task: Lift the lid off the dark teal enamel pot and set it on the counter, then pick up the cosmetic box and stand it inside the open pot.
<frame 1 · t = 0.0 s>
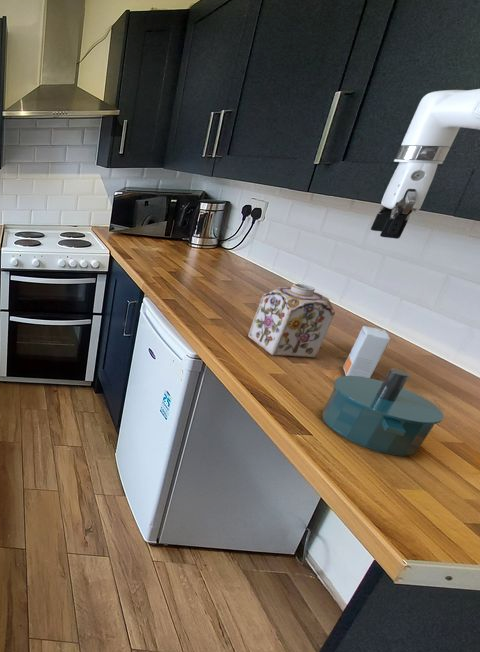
hand: (383, 234, 94), 33 cm above the worktop, tool pointing down, fingers open, 9 cm apart
decorative jar: (279, 347, 112), on the worktop
pot: (367, 430, 79), on the worktop
cosmetic box: (354, 376, 99), on the worktop
lid: (384, 399, 76), point 7 cm above the worktop, touching pot
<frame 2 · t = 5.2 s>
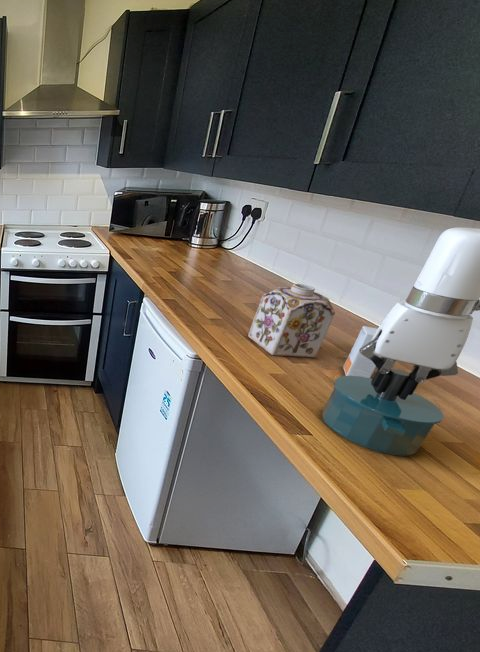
hand: (388, 392, 75), 9 cm above the worktop, tool pointing down, fingers closed on lid, 2 cm apart
lid: (384, 399, 76), point 8 cm above the worktop, touching gripper, pot
everything else where it was.
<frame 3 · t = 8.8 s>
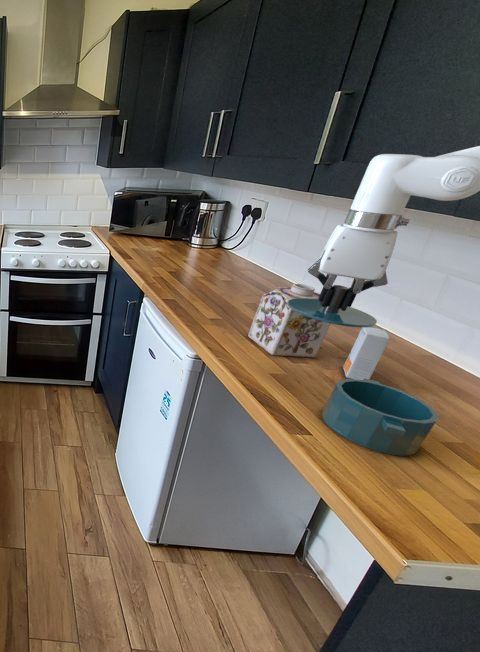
hand: (332, 306, 87), 20 cm above the worktop, tool pointing down, fingers closed on lid, 2 cm apart
lid: (329, 312, 87), point 18 cm above the worktop, touching gripper
everything else where it was.
when the fingers open (2 cm above the worktop, at t = 12.7 s): lid stays where it is, point 1 cm above the worktop.
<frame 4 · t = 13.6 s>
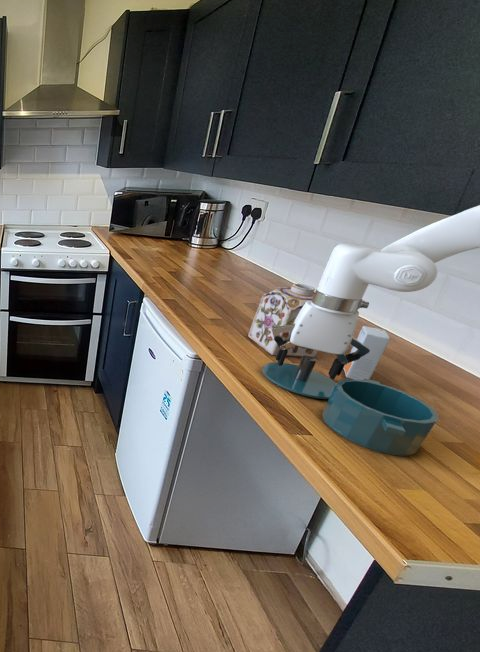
hand: (304, 369, 93), 4 cm above the worktop, tool pointing down, fingers open, 9 cm apart
lid: (299, 380, 95), point 1 cm above the worktop
everything else where it was.
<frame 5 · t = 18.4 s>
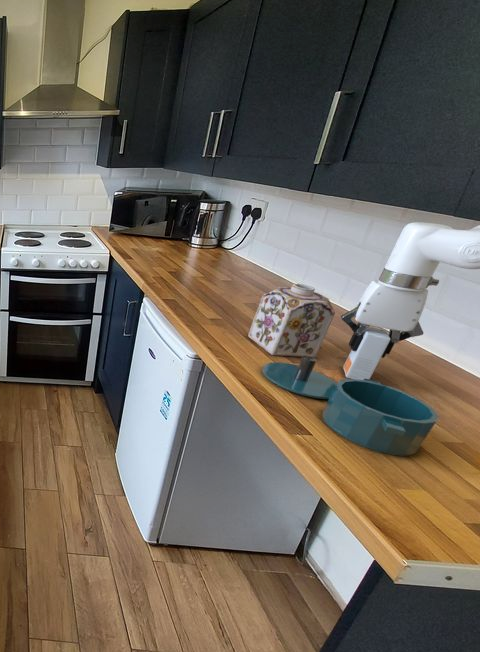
hand: (366, 351, 96), 7 cm above the worktop, tool pointing down, fingers closed on cosmetic box, 4 cm apart
cosmetic box: (354, 376, 99), on the worktop, touching gripper
everything else where it was.
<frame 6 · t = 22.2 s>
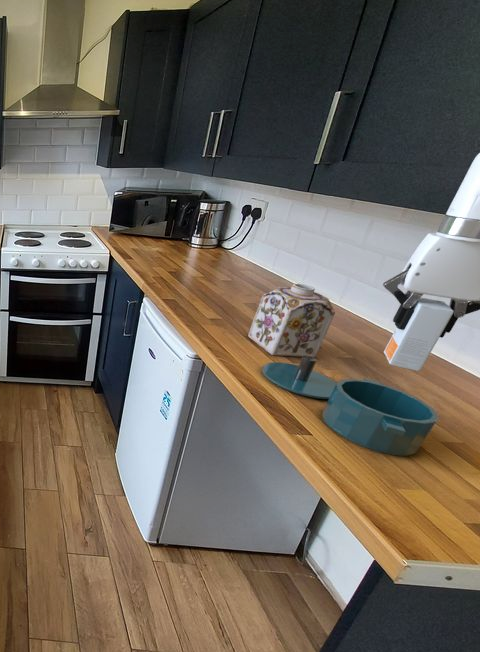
hand: (418, 329, 72), 21 cm above the worktop, tool pointing down, fingers closed on cosmetic box, 4 cm apart
cosmetic box: (399, 362, 75), point 14 cm above the worktop, touching gripper
everything else where it was.
when the fingers open (7 cm above the worktop, at t = 26.0 s): cosmetic box stays where it is, resting on pot.
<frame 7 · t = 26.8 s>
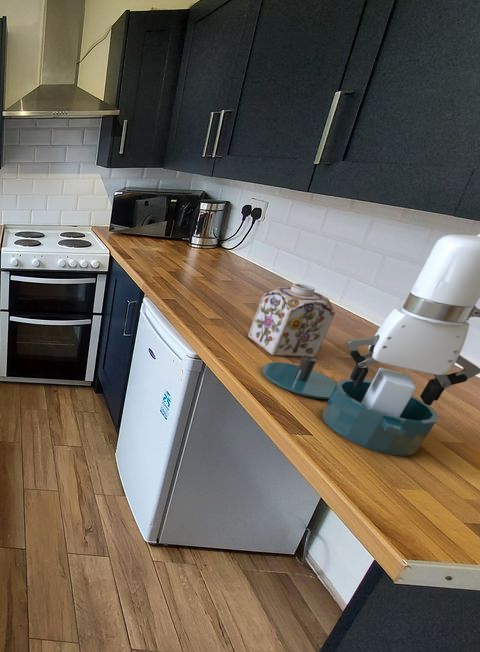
hand: (389, 392, 75), 9 cm above the worktop, tool pointing down, fingers open, 9 cm apart
cosmetic box: (368, 429, 79), resting on pot
everything else where it was.
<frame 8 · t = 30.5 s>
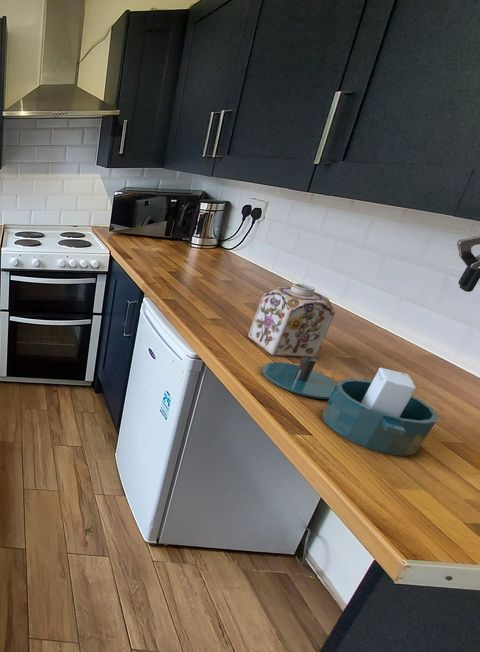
nothing on the worktop moved.
at the end: lid inside the target area (0.0 cm from its centre), point 0.6 cm above the worktop; cosmetic box inside the target area in the pot (0.1 cm from its centre), point 0.3 cm above the pot's base; cosmetic box tilted 0° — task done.
